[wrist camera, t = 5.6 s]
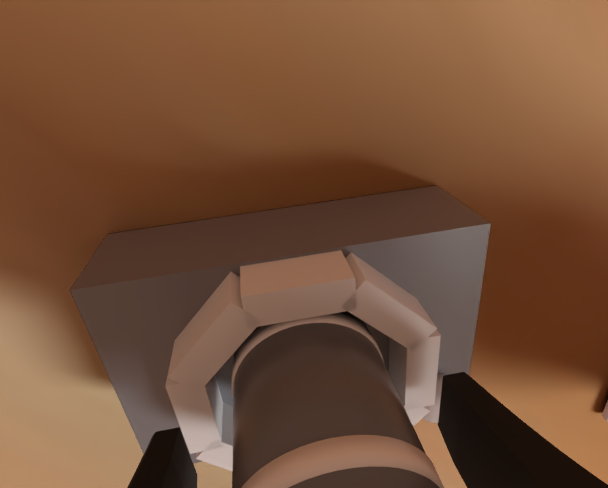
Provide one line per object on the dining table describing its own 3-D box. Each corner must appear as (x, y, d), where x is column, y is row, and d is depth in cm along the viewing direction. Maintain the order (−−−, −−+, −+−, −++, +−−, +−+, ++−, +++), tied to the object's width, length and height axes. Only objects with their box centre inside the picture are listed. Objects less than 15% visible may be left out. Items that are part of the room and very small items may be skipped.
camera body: (437, 185, 15) (523, 246, 10) (426, 347, 18) (485, 442, 14) (107, 234, 14) (45, 325, 9) (166, 395, 17) (143, 515, 13)
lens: (377, 287, 12) (488, 477, 7) (362, 393, 14) (437, 603, 9) (228, 294, 11) (221, 514, 6) (234, 405, 13) (233, 641, 8)
